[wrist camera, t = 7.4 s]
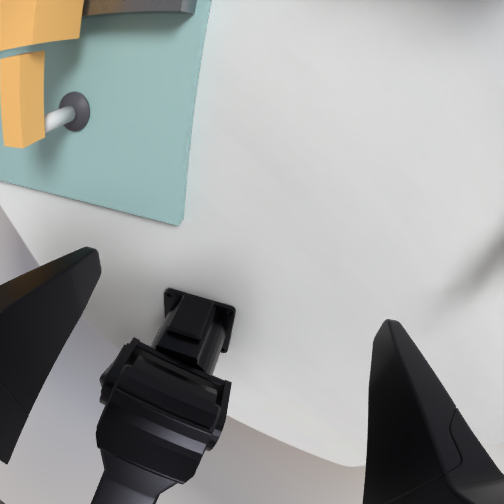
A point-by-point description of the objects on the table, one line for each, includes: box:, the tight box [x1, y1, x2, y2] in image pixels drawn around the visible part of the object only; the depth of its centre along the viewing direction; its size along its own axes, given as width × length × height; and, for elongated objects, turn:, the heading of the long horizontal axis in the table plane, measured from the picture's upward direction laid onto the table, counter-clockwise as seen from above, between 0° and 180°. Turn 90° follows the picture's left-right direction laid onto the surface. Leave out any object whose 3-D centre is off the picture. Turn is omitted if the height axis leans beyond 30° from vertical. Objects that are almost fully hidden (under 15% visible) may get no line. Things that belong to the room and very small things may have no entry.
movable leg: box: [0, 0, 84, 148], centre depth 13 cm, size 11×4×6 cm, turn 171°
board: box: [0, 0, 211, 226], centre depth 18 cm, size 19×23×1 cm
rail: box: [82, 0, 197, 18], centre depth 14 cm, size 2×22×2 cm, turn 80°
